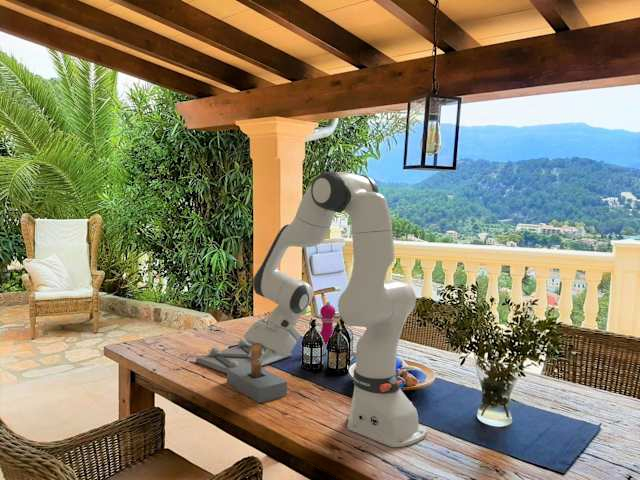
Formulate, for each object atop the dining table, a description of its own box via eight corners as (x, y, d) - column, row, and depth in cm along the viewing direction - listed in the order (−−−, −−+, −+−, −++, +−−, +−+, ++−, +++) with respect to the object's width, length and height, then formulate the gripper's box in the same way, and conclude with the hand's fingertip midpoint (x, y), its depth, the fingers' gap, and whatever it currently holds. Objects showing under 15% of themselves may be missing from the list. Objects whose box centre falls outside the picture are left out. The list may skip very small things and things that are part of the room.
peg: (262, 381, 162) (263, 344, 161) (254, 383, 160) (254, 346, 159) (257, 378, 164) (258, 342, 163) (249, 380, 162) (249, 344, 161)
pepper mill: (334, 354, 198) (335, 304, 196) (315, 352, 199) (317, 302, 197) (337, 348, 205) (338, 300, 203) (319, 347, 206) (321, 298, 204)
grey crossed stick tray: (254, 345, 208) (255, 328, 207) (293, 358, 194) (293, 339, 193) (193, 363, 185) (194, 344, 184) (232, 379, 171) (233, 358, 170)
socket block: (286, 395, 158) (287, 381, 157) (259, 403, 151) (259, 388, 151) (253, 375, 173) (253, 363, 173) (227, 382, 167) (227, 369, 166)
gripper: (255, 312, 172) (230, 346, 167) (294, 325, 158) (268, 363, 152) (265, 323, 176) (241, 356, 170) (304, 337, 161) (280, 373, 155)
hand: (254, 359), depth 161 cm, fingers closed on peg, 3 cm apart
